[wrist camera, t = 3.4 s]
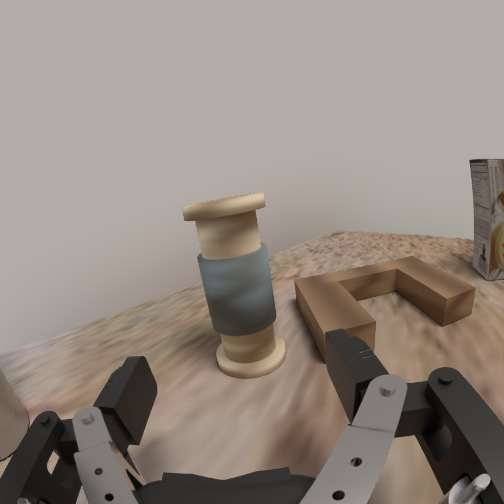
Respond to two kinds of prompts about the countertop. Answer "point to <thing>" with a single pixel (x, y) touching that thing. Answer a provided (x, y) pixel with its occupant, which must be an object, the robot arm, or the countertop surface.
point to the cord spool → (238, 284)
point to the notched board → (374, 284)
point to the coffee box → (488, 217)
